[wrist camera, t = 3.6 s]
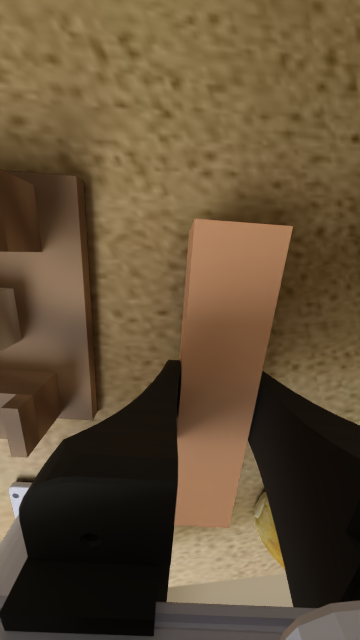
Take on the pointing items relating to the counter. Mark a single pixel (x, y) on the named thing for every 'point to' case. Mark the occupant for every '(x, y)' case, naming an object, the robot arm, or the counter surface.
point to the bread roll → (267, 528)
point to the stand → (43, 307)
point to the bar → (223, 358)
